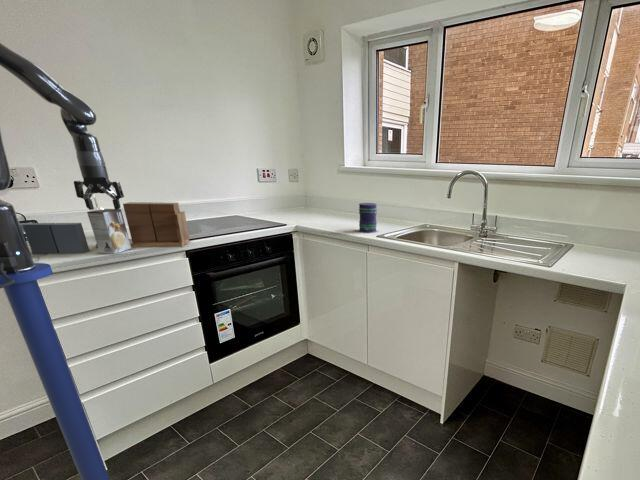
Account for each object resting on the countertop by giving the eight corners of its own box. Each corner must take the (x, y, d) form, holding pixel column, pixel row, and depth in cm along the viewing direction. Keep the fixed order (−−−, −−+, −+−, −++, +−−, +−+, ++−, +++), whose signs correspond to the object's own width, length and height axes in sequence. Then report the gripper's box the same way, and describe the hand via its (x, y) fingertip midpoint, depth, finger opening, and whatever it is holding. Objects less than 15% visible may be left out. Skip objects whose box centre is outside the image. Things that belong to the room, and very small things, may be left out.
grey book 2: (83, 252, 136) (75, 224, 132) (59, 253, 134) (49, 224, 130) (89, 250, 140) (81, 222, 136) (65, 250, 138) (56, 222, 134)
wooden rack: (183, 246, 152) (176, 214, 147) (96, 247, 144) (86, 214, 139) (190, 241, 161) (184, 211, 156) (109, 242, 153) (100, 211, 148)
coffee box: (116, 248, 145) (106, 208, 139) (132, 248, 145) (122, 209, 139) (98, 253, 136) (86, 211, 130) (114, 254, 136) (103, 212, 130)
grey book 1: (57, 253, 134) (48, 224, 130) (32, 253, 132) (22, 224, 128) (64, 251, 138) (55, 222, 134) (39, 251, 136) (29, 223, 132)
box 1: (156, 242, 151) (147, 203, 145) (132, 242, 148) (122, 203, 143) (161, 239, 156) (153, 202, 150) (138, 239, 154) (129, 202, 148)
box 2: (180, 241, 153) (173, 204, 147) (157, 242, 151) (149, 203, 145) (185, 238, 158) (178, 202, 152) (162, 239, 156) (154, 202, 150)
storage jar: (356, 231, 197) (355, 204, 191) (364, 228, 205) (364, 202, 200) (371, 233, 193) (371, 205, 188) (379, 230, 202) (379, 203, 196)
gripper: (62, 164, 123) (76, 210, 129) (109, 165, 127) (121, 210, 133) (75, 163, 130) (88, 208, 136) (119, 164, 133) (130, 208, 139)
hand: (104, 209), depth 134 cm, fingers open, 8 cm apart
